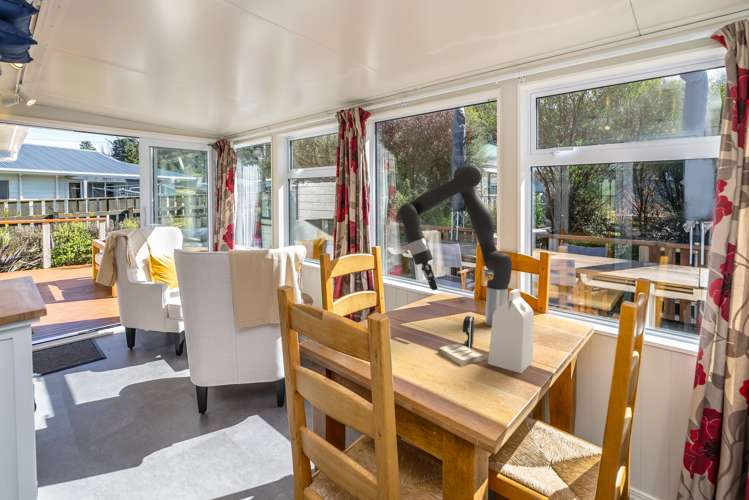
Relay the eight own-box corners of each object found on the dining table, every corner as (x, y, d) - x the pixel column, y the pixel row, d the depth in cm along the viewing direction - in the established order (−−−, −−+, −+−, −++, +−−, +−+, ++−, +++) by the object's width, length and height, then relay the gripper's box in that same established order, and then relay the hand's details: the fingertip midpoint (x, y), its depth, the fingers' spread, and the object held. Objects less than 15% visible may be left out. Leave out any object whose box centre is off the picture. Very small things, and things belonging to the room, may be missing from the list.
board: (458, 348, 150) (458, 342, 150) (483, 360, 139) (483, 354, 138) (438, 352, 145) (438, 347, 145) (462, 365, 134) (462, 360, 134)
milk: (501, 353, 145) (504, 285, 142) (532, 361, 138) (537, 290, 134) (487, 363, 136) (491, 291, 132) (521, 373, 129) (525, 296, 125)
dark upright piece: (463, 341, 157) (464, 314, 155) (473, 343, 155) (474, 315, 154) (461, 347, 150) (462, 319, 149) (471, 349, 149) (472, 320, 147)
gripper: (430, 247, 151) (445, 287, 150) (427, 248, 165) (441, 284, 164) (412, 254, 151) (426, 293, 150) (411, 254, 165) (424, 290, 165)
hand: (434, 289), depth 157 cm, fingers open, 8 cm apart
